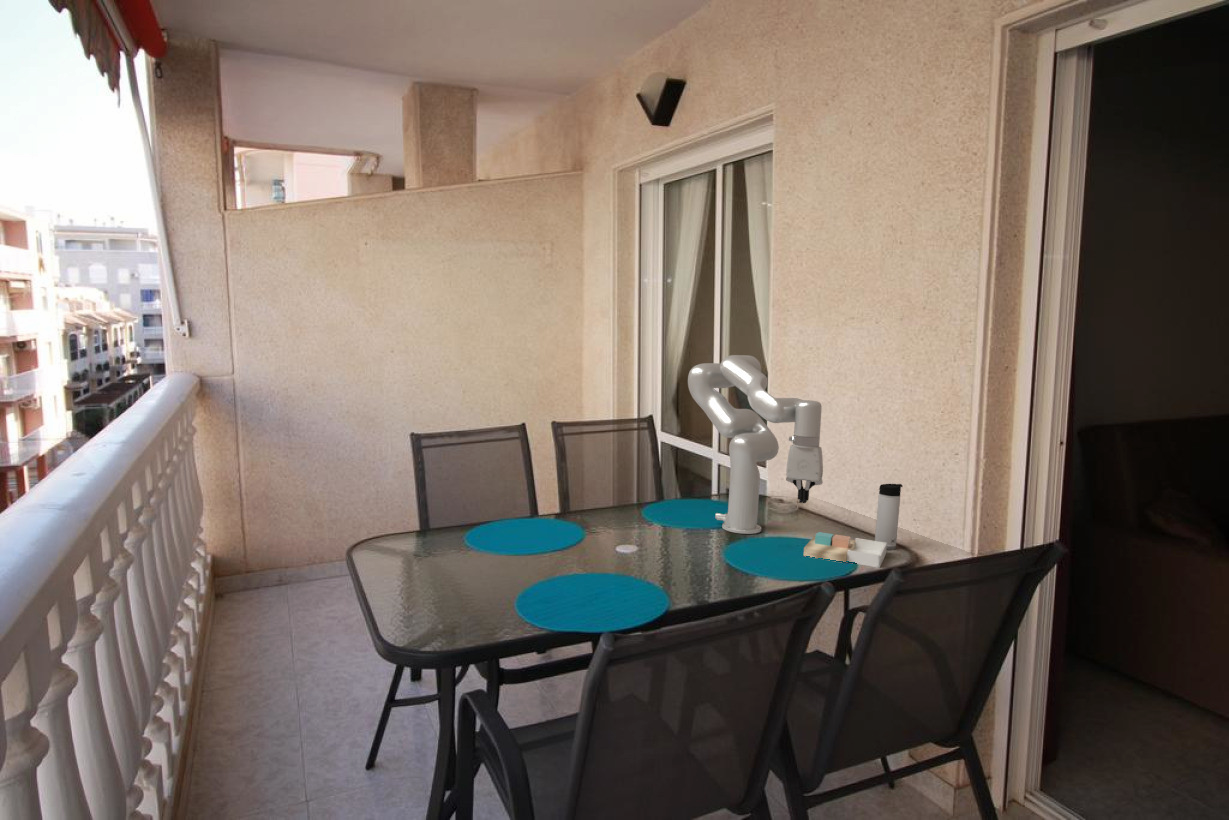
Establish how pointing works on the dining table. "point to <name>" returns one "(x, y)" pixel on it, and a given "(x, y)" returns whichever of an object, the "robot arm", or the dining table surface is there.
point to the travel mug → (888, 514)
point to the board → (827, 551)
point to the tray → (867, 552)
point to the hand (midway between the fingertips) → (802, 502)
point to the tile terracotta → (841, 541)
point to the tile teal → (823, 538)
